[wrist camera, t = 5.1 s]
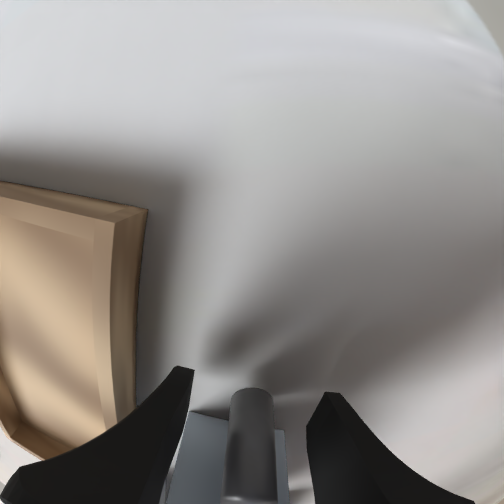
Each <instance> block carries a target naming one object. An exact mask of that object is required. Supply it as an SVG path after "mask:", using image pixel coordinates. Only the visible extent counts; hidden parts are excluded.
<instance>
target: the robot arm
mask: <svg viewBox="0 0 504 504" xmlns="http://www.w3.org/2000/svg"><path fill="white" fill-rule="evenodd" d="M194 371H195V370H193V369H189V368H185V367H181V366H175V367H174V368H173V369H172V371H171V372H170V374H169V375H168V376H167V377H166V379H165V380H164V381H163V382H162V383H161V384H160V385H159V386H158V388H157V389H156V390H155V391H154V392H153V393H152V394H151V395H150V396H149V397H148V398H147V399H146V400H145V401H144V402H143V403H141V404H140V405H139V406H138V407H137V408H136V409H134V410H133V411H132V412H131V413H130V414H129V415H127V416H126V417H125V418H124V419H122V420H121V421H120V422H118V423H117V424H116V425H114V426H113V427H111V428H110V429H108V430H107V431H105V432H104V433H102V434H100V435H99V436H97V437H95V438H94V439H92V440H90V441H88V442H86V443H85V444H83V445H81V446H79V447H76V448H74V449H72V450H70V451H67V452H65V453H62V454H60V455H58V456H55V457H52V458H50V459H46V460H43V461H39V462H36V463H32V464H29V465H25V466H21V467H19V468H18V470H17V471H16V472H15V473H14V474H13V475H12V477H11V478H10V479H9V481H8V483H7V484H6V486H5V488H4V489H3V491H2V493H1V495H0V499H1V501H2V502H3V503H4V504H159V502H160V498H161V493H162V489H163V485H164V482H165V479H166V476H167V473H168V470H169V468H170V465H171V462H172V460H173V457H174V454H175V451H176V449H177V446H178V443H179V441H180V438H181V435H182V432H183V429H184V425H185V421H186V417H187V412H188V408H189V402H190V396H191V389H192V383H193V377H194ZM306 439H307V453H308V459H309V465H310V471H311V477H312V483H313V489H314V496H315V504H475V503H474V501H472V500H469V499H466V498H464V497H461V496H458V495H456V494H453V493H451V492H449V491H447V490H445V489H443V488H441V487H439V486H437V485H435V484H433V483H431V482H430V481H428V480H427V479H425V478H424V477H422V476H421V475H419V474H418V473H416V472H415V471H413V470H412V469H411V468H409V467H408V466H407V465H406V464H404V463H403V462H402V461H401V460H400V459H398V458H397V457H396V456H395V455H394V454H393V453H392V452H391V451H390V450H389V449H388V448H387V447H386V446H385V445H384V444H383V443H382V442H381V441H380V440H379V439H378V438H377V437H376V436H375V435H374V433H373V432H372V431H371V430H370V429H369V428H368V426H367V425H366V424H365V423H364V422H363V420H362V419H361V418H360V417H359V416H358V414H357V413H356V412H355V411H354V409H353V408H352V407H351V406H350V404H349V403H348V402H347V401H346V399H345V398H344V397H343V396H342V395H341V394H340V393H333V392H325V393H324V395H323V397H322V399H321V401H320V402H319V404H318V406H317V408H316V410H315V412H314V413H313V415H312V417H311V419H310V421H309V422H308V424H307V426H306Z"/></svg>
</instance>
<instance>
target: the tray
mask: <svg viewBox="0 0 504 504" xmlns="http://www.w3.org/2000/svg"><path fill="white" fill-rule="evenodd" d="M147 213H148V209H143V208H139V207H134V206H129V205H124V204H119V203H114V202H110V201H105V200H100V199H95V198H90V197H85V196H80V195H74V194H69V193H64V192H59V191H54V190H48V189H43V188H38V187H32V186H27V185H22V184H16V183H11V182H5V181H0V426H1V428H2V430H3V432H4V433H5V435H6V437H7V438H8V439H9V440H11V441H12V442H14V443H15V444H17V445H18V446H20V447H21V448H23V449H24V450H26V451H27V452H29V453H30V454H32V455H34V456H35V457H37V458H38V459H40V460H42V461H43V460H46V459H50V458H52V457H55V456H58V455H60V454H62V453H65V452H67V451H70V450H72V449H74V448H76V447H79V446H81V445H83V444H85V443H86V442H88V441H90V440H92V439H94V438H95V437H97V436H99V435H100V434H102V433H104V432H105V431H107V430H108V429H110V428H111V427H113V426H114V425H116V424H117V423H118V422H120V421H121V420H122V419H124V418H125V417H126V416H127V415H129V414H130V413H131V412H132V411H133V410H134V409H136V325H137V306H138V292H139V280H140V269H141V259H142V250H143V242H144V234H145V226H146V219H147Z"/></svg>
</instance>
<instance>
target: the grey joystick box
mask: <svg viewBox="0 0 504 504" xmlns="http://www.w3.org/2000/svg"><path fill="white" fill-rule="evenodd" d="M166 504H290V501H289V487H288V474H287V461H286V448H285V436H284V430H278V429H275V428H274V409H273V398H272V396H271V395H270V394H269V393H268V392H266V391H264V390H262V389H259V388H245V389H241V390H239V391H237V392H236V393H235V394H234V395H233V396H232V398H231V405H230V414H229V421H227V420H223V419H218V418H214V417H210V416H206V415H202V414H198V413H194V412H190V411H189V414H188V418H187V421H186V425H185V429H184V433H183V437H182V441H181V445H180V449H179V453H178V457H177V461H176V465H175V469H174V473H173V477H172V481H171V485H170V489H169V493H168V497H167V501H166Z"/></svg>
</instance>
